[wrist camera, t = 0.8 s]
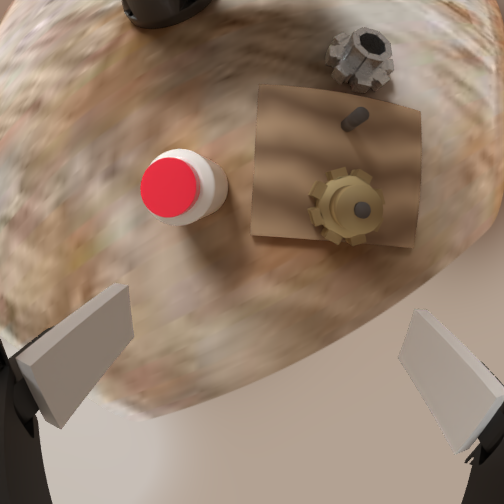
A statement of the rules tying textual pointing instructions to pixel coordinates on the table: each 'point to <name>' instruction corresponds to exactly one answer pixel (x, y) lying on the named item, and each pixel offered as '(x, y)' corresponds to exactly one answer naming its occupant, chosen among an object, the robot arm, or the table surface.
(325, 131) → the gear board
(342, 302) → the table surface
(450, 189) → the table surface
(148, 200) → the pill bottle
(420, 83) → the table surface
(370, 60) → the steel gear
